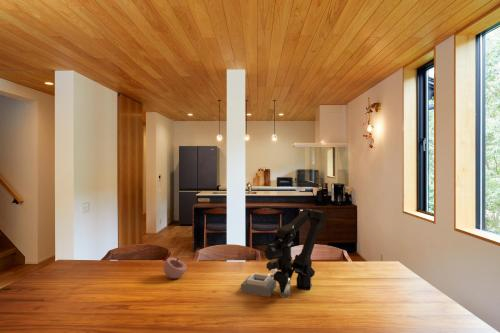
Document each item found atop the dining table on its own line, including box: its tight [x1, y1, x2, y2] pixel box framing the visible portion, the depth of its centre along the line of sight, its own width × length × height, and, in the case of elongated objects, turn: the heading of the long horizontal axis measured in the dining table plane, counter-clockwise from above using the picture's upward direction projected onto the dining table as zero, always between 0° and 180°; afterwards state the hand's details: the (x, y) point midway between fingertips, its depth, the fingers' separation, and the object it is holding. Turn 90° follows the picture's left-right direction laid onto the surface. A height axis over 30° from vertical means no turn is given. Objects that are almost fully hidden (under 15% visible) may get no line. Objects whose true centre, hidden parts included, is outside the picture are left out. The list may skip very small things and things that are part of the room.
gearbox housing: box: [240, 272, 277, 298], centre depth 149 cm, size 14×12×6 cm
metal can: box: [278, 277, 291, 298], centre depth 144 cm, size 5×5×8 cm
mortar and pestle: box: [163, 256, 187, 279], centre depth 165 cm, size 12×12×12 cm
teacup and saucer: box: [267, 268, 279, 277], centre depth 167 cm, size 9×8×4 cm
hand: (284, 288), depth 144 cm, fingers open, 9 cm apart
